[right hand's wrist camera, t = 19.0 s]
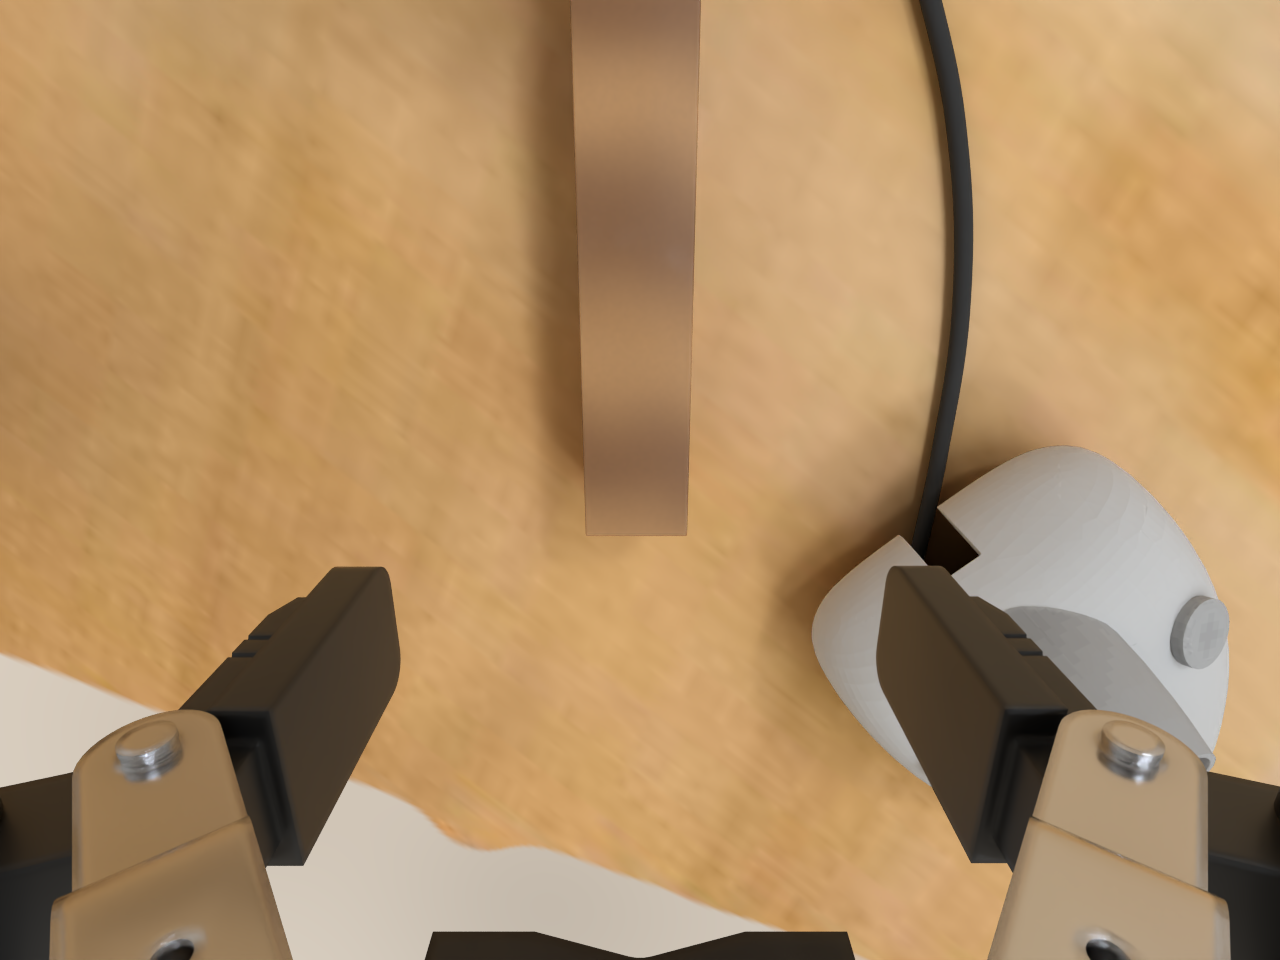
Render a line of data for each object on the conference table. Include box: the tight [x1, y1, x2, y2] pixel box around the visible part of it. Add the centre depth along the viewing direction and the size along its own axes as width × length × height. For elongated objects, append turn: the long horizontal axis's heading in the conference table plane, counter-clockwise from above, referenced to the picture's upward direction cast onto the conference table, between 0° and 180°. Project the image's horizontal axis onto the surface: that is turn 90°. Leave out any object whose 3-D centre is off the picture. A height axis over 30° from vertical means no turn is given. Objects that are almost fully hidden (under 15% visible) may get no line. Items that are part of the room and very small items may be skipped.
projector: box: [812, 446, 1229, 787], centre depth 31 cm, size 22×23×15 cm
